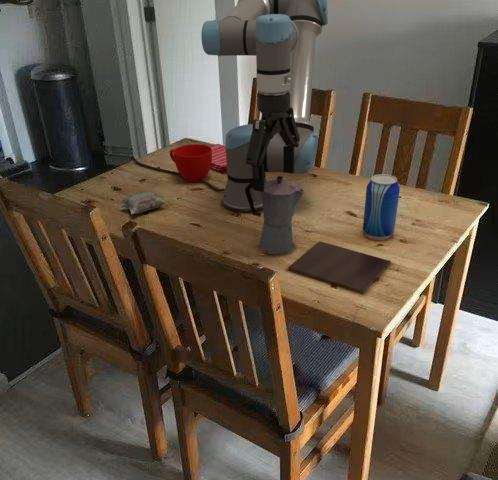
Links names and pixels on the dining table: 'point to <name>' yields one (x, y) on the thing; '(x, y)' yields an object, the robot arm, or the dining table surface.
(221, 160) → the dish towel
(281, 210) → the moka pot
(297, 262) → the walnut trivet
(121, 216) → the dining table surface
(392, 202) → the beer can
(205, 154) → the ceramic cup
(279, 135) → the robot arm
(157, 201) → the packaged food
